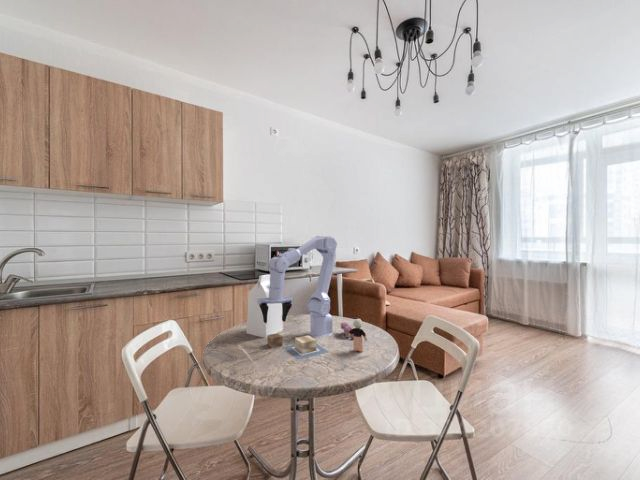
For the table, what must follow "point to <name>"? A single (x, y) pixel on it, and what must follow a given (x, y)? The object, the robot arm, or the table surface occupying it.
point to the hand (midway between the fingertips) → (274, 321)
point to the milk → (255, 314)
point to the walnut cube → (274, 340)
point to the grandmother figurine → (358, 335)
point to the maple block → (305, 344)
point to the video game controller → (346, 329)
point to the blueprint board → (299, 355)
